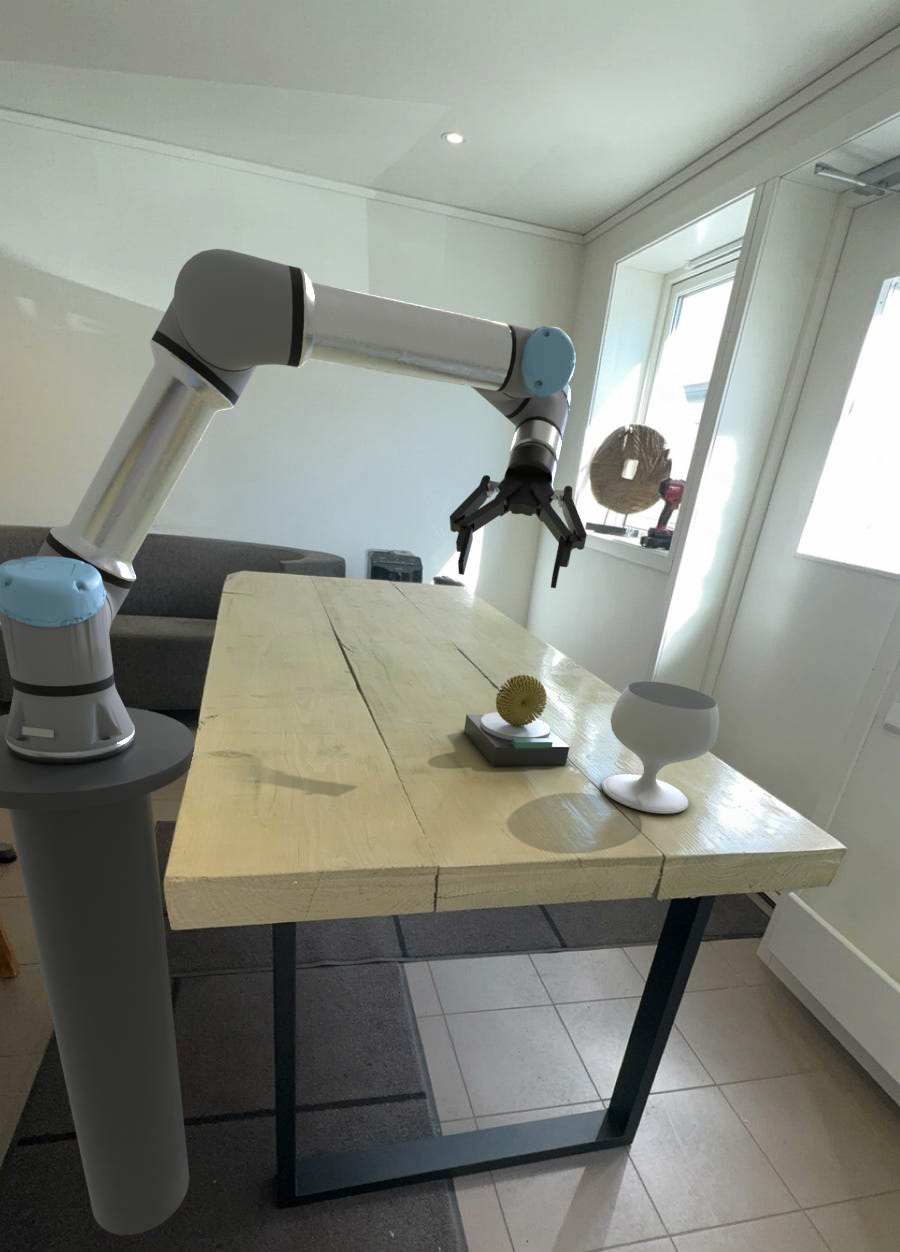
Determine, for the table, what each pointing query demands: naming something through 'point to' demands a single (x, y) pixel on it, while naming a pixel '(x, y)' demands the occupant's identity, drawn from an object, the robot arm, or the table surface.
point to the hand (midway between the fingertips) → (507, 575)
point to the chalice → (660, 740)
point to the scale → (515, 741)
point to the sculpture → (521, 700)
